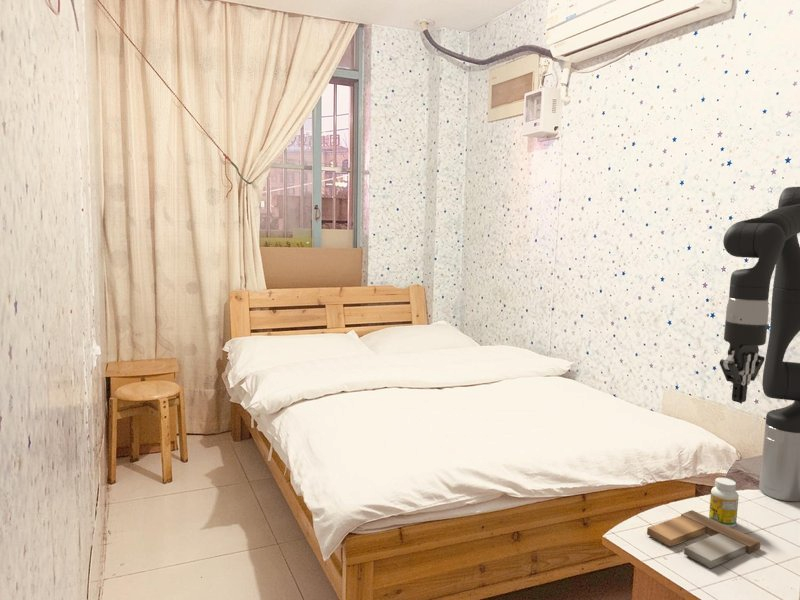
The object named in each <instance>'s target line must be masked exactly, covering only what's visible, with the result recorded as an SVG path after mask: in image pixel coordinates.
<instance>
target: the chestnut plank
mask: <svg viewBox="0 0 800 600" xmlns="http://www.w3.org/2000/svg"><path fill="white" fill-rule="evenodd" d="M705 532H706V526H703V525H701V524H699V523H697V522H695V521H693V520H691V519H689V518H687V517H684V516H681V515H679V516H677V517H674V518H671V519H668V520H666V521H663V522H659V523H657V524H654V525H651V526H649V527H647V530H646V535H647V536H649V537H651V538H653V539H655V540H657V541H659V542H660V543H662V544H664V545H666V546H668V547H673V546H676V545H678V544H680V543H684V542H686V541H689V540H692V539H694V538H696V537H699V536H702V535H704V534H706V533H705Z"/></svg>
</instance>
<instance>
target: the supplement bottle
mask: <svg viewBox="0 0 800 600" xmlns="http://www.w3.org/2000/svg"><path fill="white" fill-rule="evenodd" d="M736 488H737V482H736V481H734V480H733V479H731V478H728V477H717V478H715V480H714V486H713V487H712V488H711V491H710V500H709V509H708V510H709V512H708V518H710V519H713V520H715V521H717V522H719V523H721V524H724V525H726V526H728V527H730V528H734V527H735V526H737V525H736V524H737V517H738V507H739V494H738V492H737V491H736Z"/></svg>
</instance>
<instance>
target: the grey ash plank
mask: <svg viewBox="0 0 800 600" xmlns="http://www.w3.org/2000/svg"><path fill="white" fill-rule="evenodd" d="M683 549H684V551H683V555H685V556H686V557H689V558H691V559H693V560H694V561H696V562H698V563H700V564H702V565H704V566H706V567H707V568H710V569H712V568H714V567H716V566H719V565H721V564H723V563H725V562H727V561H729V560H732V559H734V558H736V557H739V556H741V555H745V554H747V553H746V545H744V544H742V543H739V542H737V541H735V540H733V539H731V538H729V537H727V536H725V535H723V534H720V533H719V534H716V535H714V536H711V535H710V536H708V537H706V538H704V539H701V540H698V541H696V542H693V543H691V544H689V545H686V546H684V548H683Z"/></svg>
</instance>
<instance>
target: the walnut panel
mask: <svg viewBox="0 0 800 600" xmlns="http://www.w3.org/2000/svg"><path fill="white" fill-rule="evenodd" d="M680 516H684V517H687V518H689V519H691V520H693V521H695V522H697V523H699V524H701V525H703V526H706V532H705V534H707V535H709V536H710V537H711V536H714V535H716V534H719V533H720V534H723V535H725V536H727V537H729V538H731V539H733V540H735V541H737V542H739V543H742V544H744V545H746V553H745V554H748V555H750V554H752V553H754V552H755V551H758V550H760V549H761V540H759V539H756V538H755V537H752V536H750V535H747V534H745V533H743V532H741V531H738V530H736V529H734V528H733V527H731V528H730V527H728V526H726V525H724V524H721V523H719V522H717V521H715V520H713V519H710V518H709V516H706V515H705V514H701V513H699V512H697V511H695V510H692V509H691V510H688V511H685V512H684V513H681V514H680Z"/></svg>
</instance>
